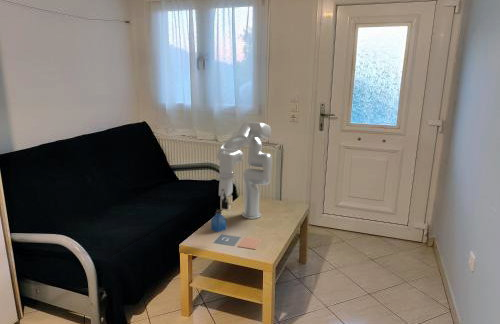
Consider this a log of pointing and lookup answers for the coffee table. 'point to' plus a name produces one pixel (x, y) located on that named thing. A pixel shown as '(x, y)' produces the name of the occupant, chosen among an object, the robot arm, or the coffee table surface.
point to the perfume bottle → (218, 222)
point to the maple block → (229, 200)
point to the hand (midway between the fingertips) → (226, 206)
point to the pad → (249, 243)
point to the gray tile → (227, 240)
